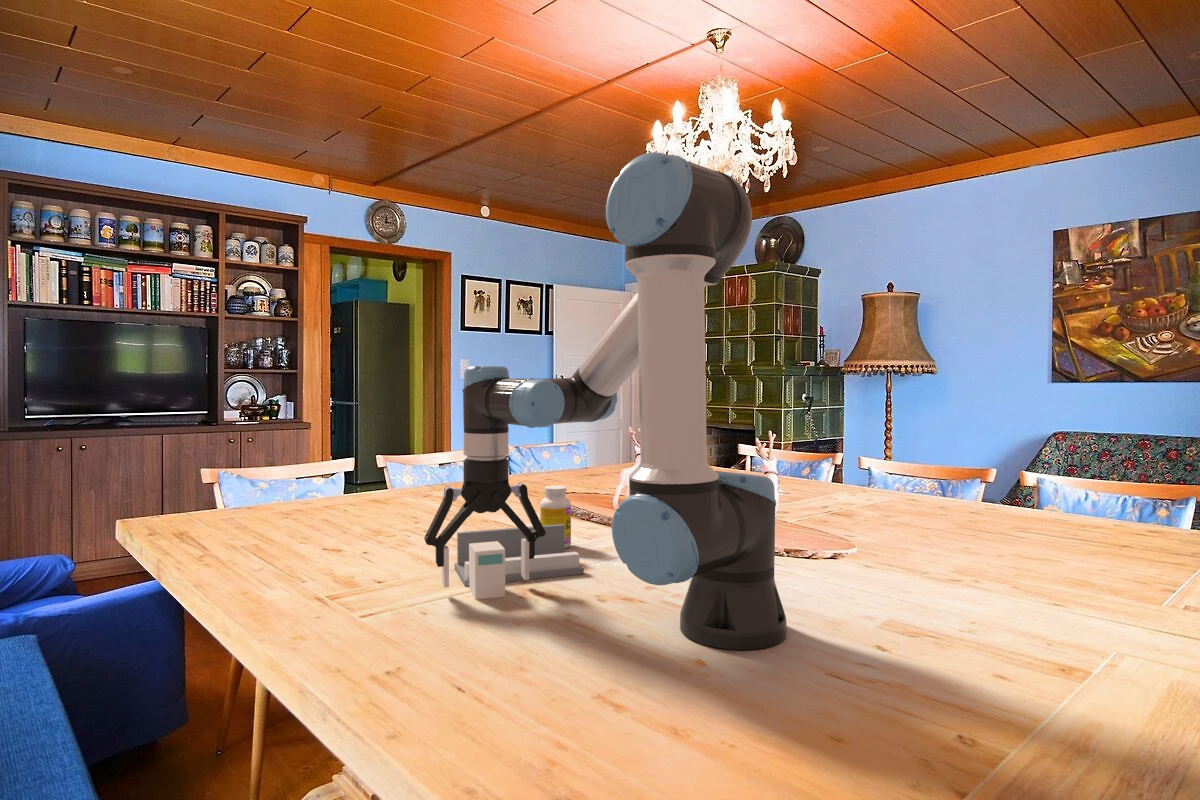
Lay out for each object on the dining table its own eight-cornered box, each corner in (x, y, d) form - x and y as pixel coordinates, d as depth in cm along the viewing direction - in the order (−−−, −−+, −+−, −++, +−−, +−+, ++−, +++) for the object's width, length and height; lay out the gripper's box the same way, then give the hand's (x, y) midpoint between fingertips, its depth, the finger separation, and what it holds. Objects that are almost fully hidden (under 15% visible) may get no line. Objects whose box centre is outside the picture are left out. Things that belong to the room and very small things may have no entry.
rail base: (583, 573, 133) (583, 536, 132) (464, 586, 125) (464, 546, 125) (564, 558, 144) (564, 523, 144) (454, 568, 136) (454, 532, 136)
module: (505, 596, 119) (505, 549, 119) (475, 600, 118) (475, 552, 117) (498, 586, 125) (497, 541, 125) (469, 589, 123) (469, 543, 123)
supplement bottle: (570, 550, 150) (569, 489, 150) (538, 550, 150) (538, 489, 150) (571, 542, 157) (571, 484, 156) (541, 542, 157) (541, 484, 157)
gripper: (551, 452, 128) (550, 568, 129) (407, 457, 120) (408, 581, 121) (563, 457, 121) (562, 580, 122) (412, 462, 113) (412, 595, 114)
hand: (486, 581), depth 122 cm, fingers open, 13 cm apart
